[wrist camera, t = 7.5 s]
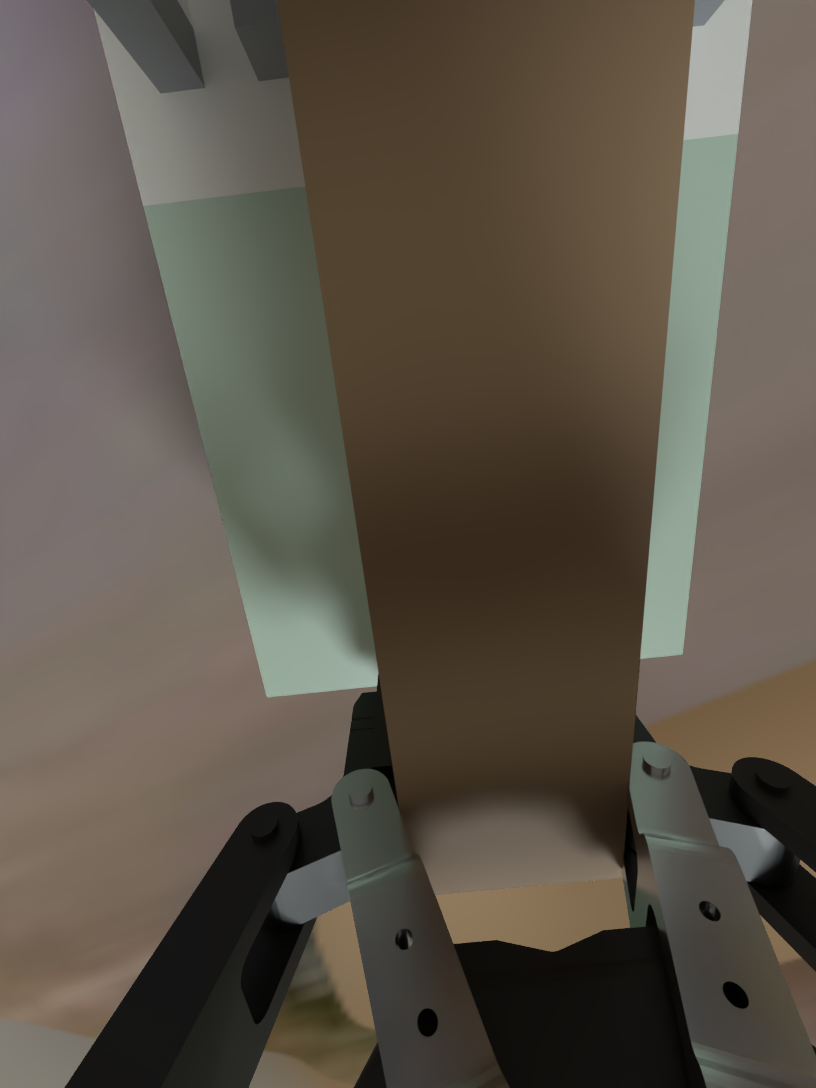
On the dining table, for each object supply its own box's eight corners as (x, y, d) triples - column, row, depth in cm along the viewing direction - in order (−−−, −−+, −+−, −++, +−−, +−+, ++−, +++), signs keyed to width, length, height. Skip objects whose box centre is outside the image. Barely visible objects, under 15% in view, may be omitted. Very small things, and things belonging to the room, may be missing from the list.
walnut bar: (331, 123, 10) (240, -241, 4) (533, 98, 10) (719, -307, 4) (407, 707, 15) (412, 897, 9) (537, 694, 15) (622, 878, 9)
